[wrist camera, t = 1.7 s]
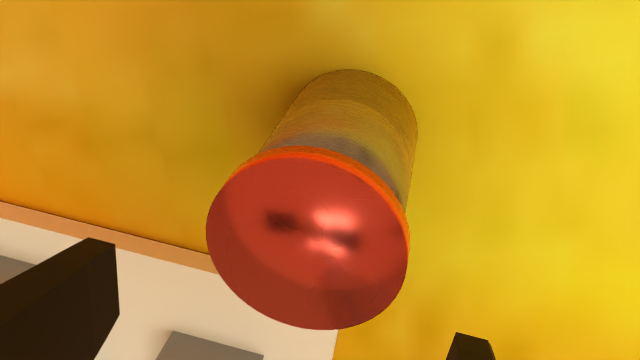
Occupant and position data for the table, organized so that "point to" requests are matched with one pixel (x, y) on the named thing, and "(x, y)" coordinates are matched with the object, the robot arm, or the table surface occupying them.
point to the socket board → (161, 297)
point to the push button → (322, 207)
